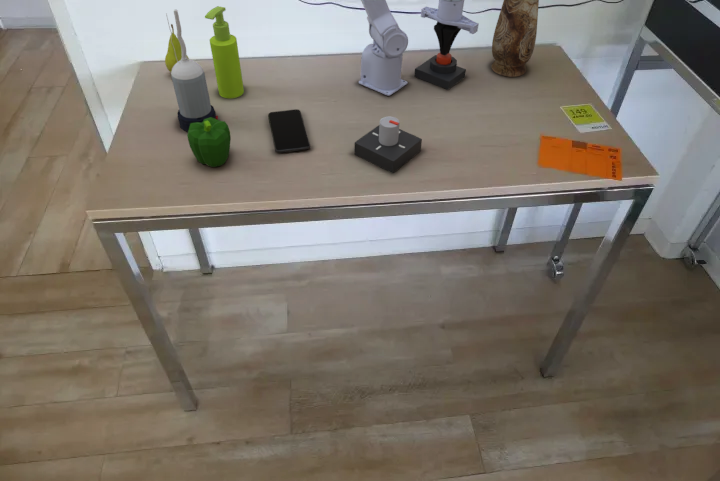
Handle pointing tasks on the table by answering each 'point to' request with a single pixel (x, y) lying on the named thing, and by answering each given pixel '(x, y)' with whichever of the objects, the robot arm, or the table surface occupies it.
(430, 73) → the button block
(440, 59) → the power button
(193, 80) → the humidifier
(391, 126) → the dial
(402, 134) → the dial panel
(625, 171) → the table surface
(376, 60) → the robot arm
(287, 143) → the smartphone
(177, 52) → the fruit
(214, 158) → the bell pepper
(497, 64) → the vase
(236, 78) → the soap dispenser
